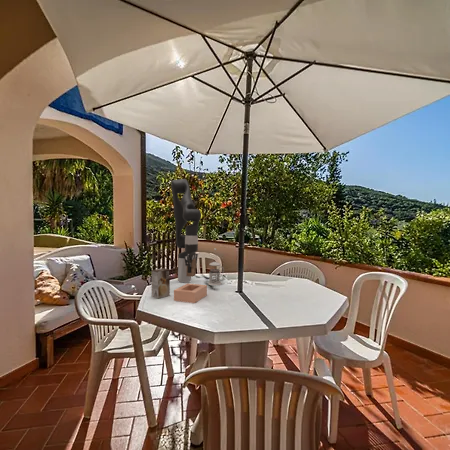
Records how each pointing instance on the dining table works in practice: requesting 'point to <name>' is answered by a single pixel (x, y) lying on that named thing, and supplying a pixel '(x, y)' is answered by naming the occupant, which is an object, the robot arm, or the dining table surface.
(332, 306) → the dining table surface
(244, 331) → the dining table surface
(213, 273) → the french press
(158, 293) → the coffee box
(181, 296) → the orange rectangular frame
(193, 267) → the walnut post
